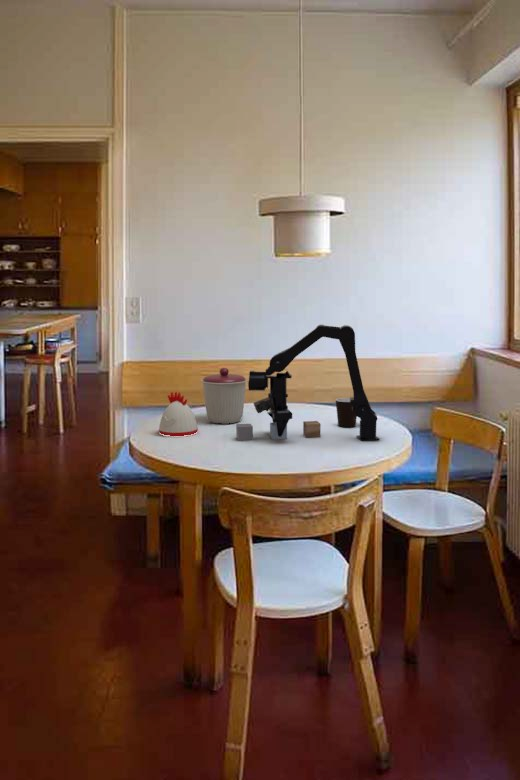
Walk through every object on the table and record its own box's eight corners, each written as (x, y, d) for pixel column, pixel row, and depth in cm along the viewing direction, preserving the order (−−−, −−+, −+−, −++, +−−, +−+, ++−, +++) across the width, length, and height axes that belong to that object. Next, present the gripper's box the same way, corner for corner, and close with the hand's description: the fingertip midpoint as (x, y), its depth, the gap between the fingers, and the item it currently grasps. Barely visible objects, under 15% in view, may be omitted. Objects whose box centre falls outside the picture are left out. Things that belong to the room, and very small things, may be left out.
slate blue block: (286, 438, 257) (286, 424, 256) (272, 439, 256) (272, 425, 255) (284, 435, 261) (283, 422, 261) (270, 436, 261) (270, 422, 260)
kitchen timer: (175, 427, 277) (174, 388, 275) (205, 431, 270) (204, 391, 268) (151, 434, 265) (150, 393, 263) (182, 438, 258) (181, 396, 256)
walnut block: (320, 437, 259) (320, 423, 258) (306, 438, 258) (306, 424, 257) (316, 434, 263) (317, 420, 263) (303, 435, 263) (303, 421, 262)
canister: (247, 416, 297) (247, 364, 293) (248, 426, 279) (248, 370, 275) (202, 417, 296) (201, 365, 293) (200, 426, 278) (199, 371, 275)
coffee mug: (351, 429, 271) (351, 402, 269) (331, 426, 276) (331, 400, 275) (366, 424, 280) (366, 398, 279) (346, 421, 285) (347, 396, 284)
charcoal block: (252, 440, 255) (252, 426, 254) (238, 441, 254) (238, 427, 253) (250, 437, 260) (250, 423, 259) (236, 438, 259) (236, 424, 258)
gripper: (251, 387, 264) (251, 430, 266) (259, 395, 246) (260, 441, 248) (281, 386, 266) (281, 428, 268) (292, 394, 247) (292, 440, 250)
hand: (278, 434), depth 258 cm, fingers closed on slate blue block, 5 cm apart
